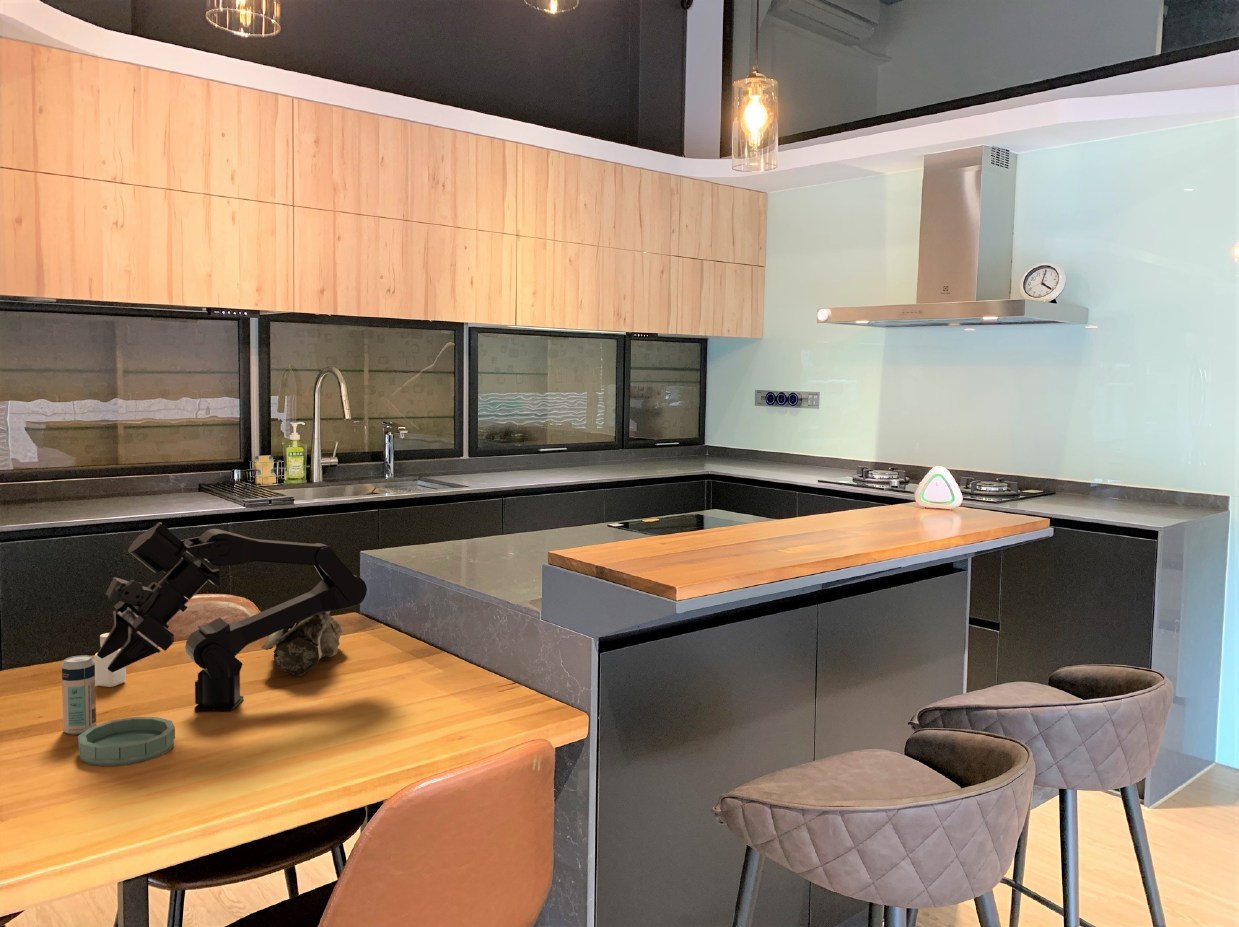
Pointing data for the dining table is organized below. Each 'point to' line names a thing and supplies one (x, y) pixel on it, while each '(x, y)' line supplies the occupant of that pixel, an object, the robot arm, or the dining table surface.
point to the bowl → (126, 741)
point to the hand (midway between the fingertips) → (104, 663)
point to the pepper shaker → (102, 673)
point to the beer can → (78, 694)
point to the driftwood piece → (305, 643)
